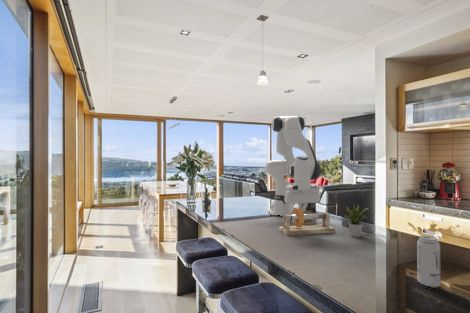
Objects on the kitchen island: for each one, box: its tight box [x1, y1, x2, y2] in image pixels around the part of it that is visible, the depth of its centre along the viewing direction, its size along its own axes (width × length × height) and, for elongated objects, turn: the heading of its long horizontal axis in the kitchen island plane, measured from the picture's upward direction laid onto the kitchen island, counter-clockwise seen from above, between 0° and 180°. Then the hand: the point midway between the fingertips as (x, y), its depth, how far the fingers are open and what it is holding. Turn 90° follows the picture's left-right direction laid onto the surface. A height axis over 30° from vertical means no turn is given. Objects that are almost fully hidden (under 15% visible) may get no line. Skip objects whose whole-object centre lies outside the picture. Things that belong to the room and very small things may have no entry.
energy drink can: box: [416, 235, 441, 288], centre depth 90 cm, size 6×6×15 cm
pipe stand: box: [278, 212, 336, 237], centre depth 156 cm, size 12×28×10 cm, turn 104°
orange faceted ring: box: [292, 206, 305, 227], centre depth 155 cm, size 10×2×10 cm, turn 14°
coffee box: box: [301, 203, 317, 225], centre depth 175 cm, size 9×6×16 cm
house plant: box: [345, 203, 369, 238], centre depth 147 cm, size 14×14×16 cm
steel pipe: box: [284, 212, 326, 222], centre depth 156 cm, size 3×26×3 cm, turn 104°
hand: (302, 211), depth 156 cm, fingers closed
